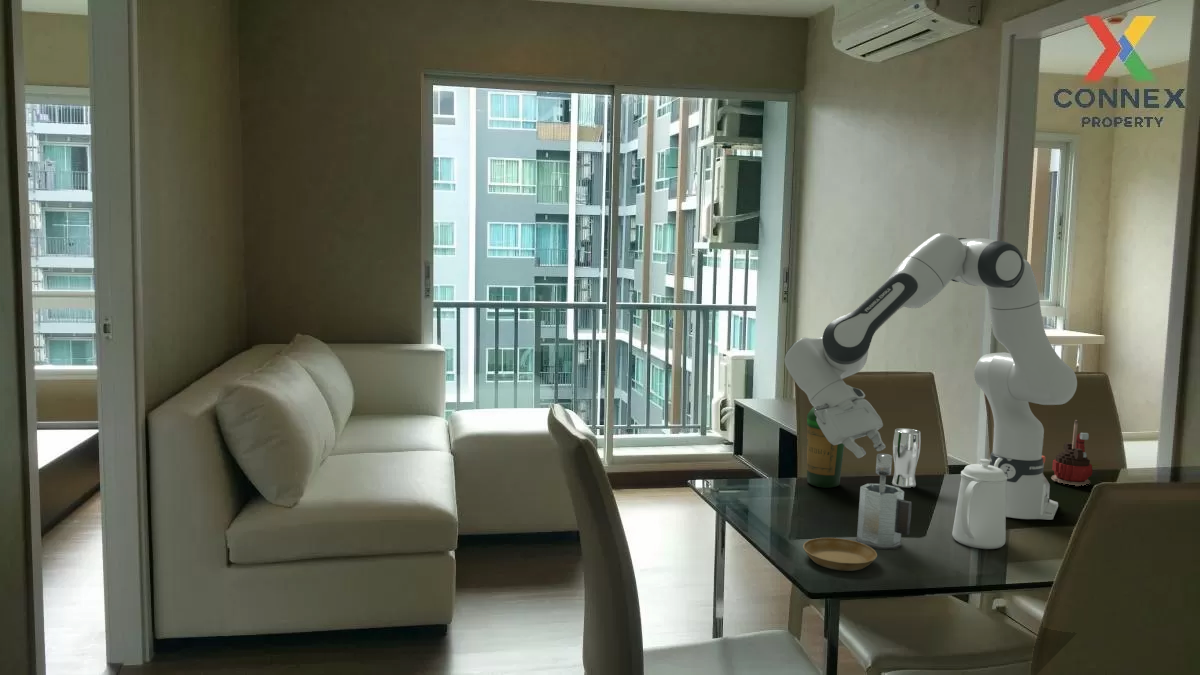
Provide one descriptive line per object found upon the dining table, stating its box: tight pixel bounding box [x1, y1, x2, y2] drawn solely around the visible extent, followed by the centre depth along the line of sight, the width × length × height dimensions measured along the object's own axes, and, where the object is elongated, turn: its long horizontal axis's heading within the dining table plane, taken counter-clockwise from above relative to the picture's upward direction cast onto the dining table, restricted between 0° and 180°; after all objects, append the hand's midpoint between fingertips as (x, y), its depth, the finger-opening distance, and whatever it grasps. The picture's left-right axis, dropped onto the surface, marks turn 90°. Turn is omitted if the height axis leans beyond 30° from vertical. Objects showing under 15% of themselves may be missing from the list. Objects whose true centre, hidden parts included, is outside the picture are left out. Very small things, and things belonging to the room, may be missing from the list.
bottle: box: [806, 406, 845, 489], centre depth 240 cm, size 11×11×28 cm
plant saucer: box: [802, 537, 878, 572], centre depth 184 cm, size 15×15×3 cm
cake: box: [1050, 419, 1093, 487], centre depth 250 cm, size 11×9×18 cm
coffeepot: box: [951, 458, 1007, 550], centre depth 197 cm, size 11×25×19 cm, turn 141°
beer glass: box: [891, 427, 921, 489], centre depth 243 cm, size 7×7×15 cm
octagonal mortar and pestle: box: [856, 483, 913, 551], centre depth 194 cm, size 9×11×12 cm
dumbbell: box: [875, 453, 893, 493], centre depth 194 cm, size 5×5×17 cm
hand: (872, 452), depth 195 cm, fingers open, 8 cm apart
